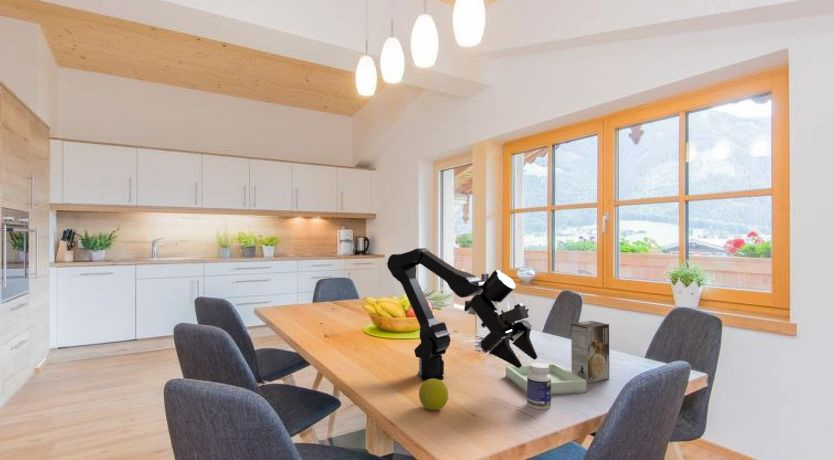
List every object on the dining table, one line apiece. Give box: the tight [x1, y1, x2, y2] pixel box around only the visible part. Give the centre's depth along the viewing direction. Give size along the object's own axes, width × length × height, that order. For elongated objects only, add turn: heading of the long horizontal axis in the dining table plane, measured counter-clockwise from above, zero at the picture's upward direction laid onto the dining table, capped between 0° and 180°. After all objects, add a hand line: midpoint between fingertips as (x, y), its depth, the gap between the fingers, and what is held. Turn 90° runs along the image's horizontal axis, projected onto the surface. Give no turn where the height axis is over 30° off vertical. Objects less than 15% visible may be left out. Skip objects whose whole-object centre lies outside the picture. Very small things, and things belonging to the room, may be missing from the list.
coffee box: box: [570, 320, 610, 384], centre depth 127 cm, size 9×6×16 cm
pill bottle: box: [526, 362, 552, 410], centre depth 106 cm, size 6×6×10 cm
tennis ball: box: [418, 379, 449, 411], centre depth 103 cm, size 7×7×7 cm
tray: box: [505, 363, 587, 396], centre depth 121 cm, size 16×16×3 cm
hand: (528, 362), depth 108 cm, fingers open, 9 cm apart
